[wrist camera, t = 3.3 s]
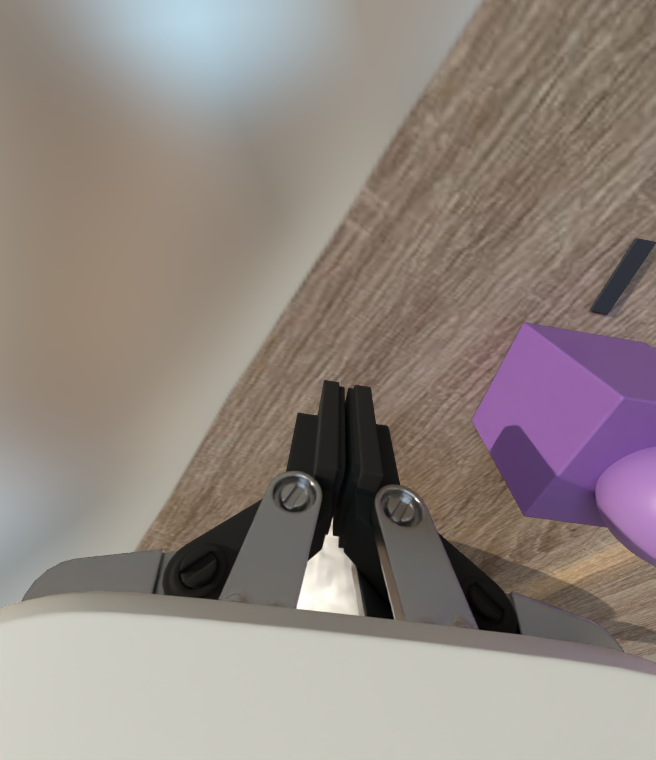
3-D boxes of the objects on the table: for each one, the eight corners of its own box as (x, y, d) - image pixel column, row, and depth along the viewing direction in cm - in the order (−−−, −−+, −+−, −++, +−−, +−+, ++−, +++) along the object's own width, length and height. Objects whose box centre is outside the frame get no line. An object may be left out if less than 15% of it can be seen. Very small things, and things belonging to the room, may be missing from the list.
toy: (522, 321, 14) (742, 486, 6) (644, 342, 14) (996, 523, 7) (470, 420, 17) (574, 610, 10) (571, 435, 18) (751, 632, 10)
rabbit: (272, 572, 27) (230, 798, 17) (213, 511, 23) (110, 768, 13) (404, 550, 25) (447, 804, 14) (367, 475, 20) (391, 768, 10)
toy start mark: (635, 238, 12) (637, 238, 12) (654, 241, 12) (656, 242, 12) (589, 310, 14) (590, 310, 14) (606, 313, 14) (607, 314, 14)
